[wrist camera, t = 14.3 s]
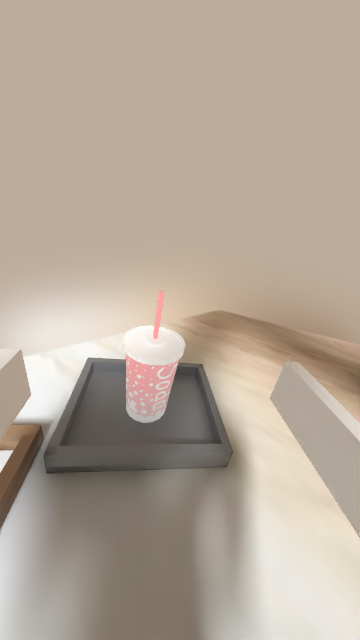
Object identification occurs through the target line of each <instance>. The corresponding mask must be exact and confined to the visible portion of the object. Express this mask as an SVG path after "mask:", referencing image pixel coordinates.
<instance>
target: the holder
mask: <svg viewBox="0 0 360 640" xmlns="http://www.w3.org/2000/svg"><path fill="white" fill-rule="evenodd" d="M42 441H43V433H42V427H41V425H10V427H9V428H8V430H7V431H6V433H5V434H4V436H3V437H2V438H1V440H0V450H14V451H13V453H12V454H11V456H10V458H9V459H8V461H7V463H6V464H5V466H4V468H3V470H2V471H1V473H0V528H1V526H2V524H3V522H4V519H5V517H6V515H7V513H8V511H9V509H10V507H11V505H12V503H13V501H14V499H15V497H16V495H17V493H18V491H19V489H20V487H21V485H22V482H23V480H24V478H25V476H26V474H27V472H28V470H29V468H30V466H31V464H32V462H33V460H34V458H35V456H36V454H37V452H38V450H39V447H40V445H41V443H42Z"/></svg>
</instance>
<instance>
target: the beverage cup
mask: <svg viewBox="0 0 360 640" xmlns="http://www.w3.org/2000/svg"><path fill="white" fill-rule="evenodd" d="M163 298H164V291H159V296H158V304H157V311H156V318H155V326H148V325H147V326H140V327H135V328H133V329H131V330H129V331H128V332H127V333H126V334H125V335H124V343H123V345H124V348H123V349H124V351H125V352H126V410H127V412H128V414H129V416H130V417H131V418H133V419H134V420H135V421H139V422H142V423H148V422H153V421H156V420H158V419H160V417H161V416H162V415H163V414H164V412H165V409H166V405H167V401H168V398H169V394H170V391H171V387H172V383H173V380H174V376H175V372H176V369H177V365H178V361H179V359H180V358H181V357H182V355H183V352H184V348H185V341H184V339H183V337H181V336H180V335H179V334H178V333H177V332H175V331H172V330H170V329H168V328H164V327H160V319H161V311H162V305H163Z"/></svg>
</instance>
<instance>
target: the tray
mask: <svg viewBox="0 0 360 640" xmlns="http://www.w3.org/2000/svg"><path fill="white" fill-rule="evenodd" d="M232 453H233V451H232V448H231V445H230V442H229V439H228V437H227V434H226V431H225V428H224V425H223V422H222V419H221V417H220V414H219V411H218V408H217V405H216V402H215V399H214V397H213V394H212V391H211V388H210V385H209V382H208V379H207V376H206V374H205V371H204V368H203V365H202V364H189V363H178V365H177V369H176V372H175V376H174V380H173V383H172V387H171V391H170V394H169V398H168V401H167V405H166V409H165V412H164V414H163V415H162V416H161V417H160V419H158V420H156V421H153V422H148V423H142V422H139V421H135V420H134V419H133V418H131V417H130V416H129V414H128V412H127V410H126V360H121V359H104V358H88V359H87V361H86V363H85V366H84V368H83V370H82V372H81V374H80V377H79V379H78V381H77V383H76V385H75V388H74V390H73V392H72V394H71V397H70V399H69V401H68V403H67V405H66V408H65V410H64V412H63V414H62V417H61V419H60V421H59V423H58V425H57V428H56V430H55V432H54V434H53V436H52V439H51V441H50V443H49V445H48V448H47V450H46V452H45V454H44V460H45V466H46V472H47V473H63V472H92V471H120V470H148V469H176V468H205V467H227V464H228V462H229V460H230V457H231V455H232Z"/></svg>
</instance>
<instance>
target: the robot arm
mask: <svg viewBox="0 0 360 640" xmlns="http://www.w3.org/2000/svg"><path fill="white" fill-rule="evenodd" d="M30 396H31V392H30V388H29V383H28V378H27V374H26V369H25V365H24V360H23V356H22V351H21V349H11V348H1V349H0V440H1V438H2V437H3V436H4V434H5V433H6V431H7V430H8V428H9V427H10V425H11V424H12V422H13V421H14V419H15V418H16V416H17V415H18V413H19V412H20V411H21V409H22V408H23V406H24V405H25V403H26V402H27V400H28V399H29V397H30ZM270 399H271V401H272V402H273V404H274V406H275V407H276V409H277V410H278V412H279V413H280V415H281V416H282V418H283V419H284V421H285V423H286V424H287V426H288V427H289V429H290V430H291V432H292V433H293V435H294V437H295V438H296V440H297V441H298V443H299V444H300V446H301V447H302V449H303V450H304V452H305V454H306V455H307V457H308V458H309V460H310V461H311V463H312V464H313V466H314V468H315V469H316V471H317V472H318V474H319V475H320V477H321V478H322V480H323V482H324V483H325V485H326V486H327V488H328V489H329V491H330V492H331V494H332V495H333V497H334V499H335V500H336V502H337V503H338V505H339V506H340V508H341V509H342V511H343V513H344V514H345V516H346V517H347V519H348V520H349V522H350V523H351V525H352V526H353V528H354V530H355V531H356V533H357V534H358V536H359V537H360V423H359V422H358V421H357V420H356V419H355V418H354V417H353V416H352V415H351V414H350V413H349V412H348V411H347V410H346V409H345V408H344V407H343V406H342V405H341V404H340V403H339V402H338V401H337V400H336V399H335V398H334V397H333V396H332V395H331V394H330V393H329V392H328V391H327V390H326V389H325V388H324V387H323V386H322V385H321V384H320V383H319V382H318V381H317V380H316V379H315V378H314V377H313V376H312V375H311V374H310V373H309V372H308V371H307V370H306V369H305V368H304V367H303V366H302V365H301V364H300V363H299V362H288V361H286V363H285V365H284V367H283V369H282V372H281V374H280V376H279V379H278V381H277V383H276V385H275V388H274V390H273V392H272V394H271V397H270Z"/></svg>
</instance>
